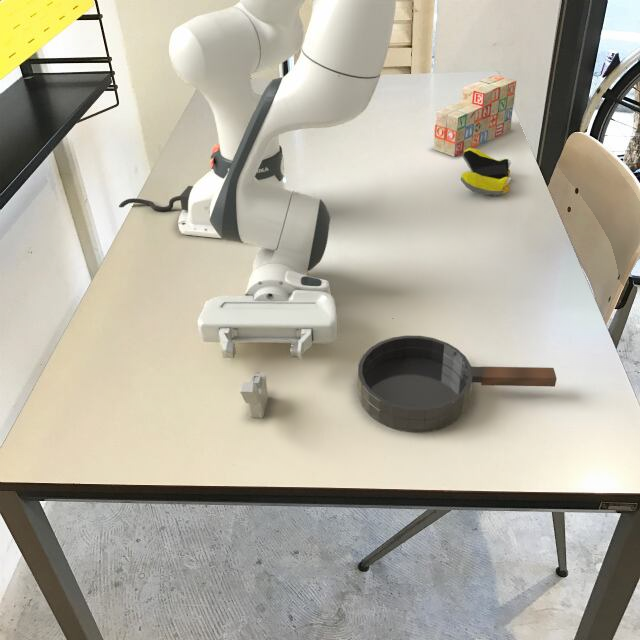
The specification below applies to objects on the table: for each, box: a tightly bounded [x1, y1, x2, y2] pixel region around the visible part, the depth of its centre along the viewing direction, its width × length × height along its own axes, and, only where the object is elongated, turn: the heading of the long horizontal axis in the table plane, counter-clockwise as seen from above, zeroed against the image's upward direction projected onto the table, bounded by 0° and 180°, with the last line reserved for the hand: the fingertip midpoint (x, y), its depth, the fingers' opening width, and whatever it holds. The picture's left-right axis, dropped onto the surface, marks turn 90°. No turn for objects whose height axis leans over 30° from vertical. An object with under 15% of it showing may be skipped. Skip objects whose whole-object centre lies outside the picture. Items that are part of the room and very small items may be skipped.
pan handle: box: [471, 366, 558, 388], centre depth 93 cm, size 11×2×2 cm, turn 86°
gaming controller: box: [460, 147, 512, 198], centre depth 144 cm, size 15×6×10 cm
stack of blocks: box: [433, 75, 517, 157], centre depth 161 cm, size 21×6×12 cm, turn 133°
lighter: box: [239, 372, 269, 419], centre depth 91 cm, size 7×2×8 cm, turn 174°
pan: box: [357, 335, 473, 433], centre depth 95 cm, size 15×15×4 cm
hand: (261, 355), depth 96 cm, fingers open, 8 cm apart
